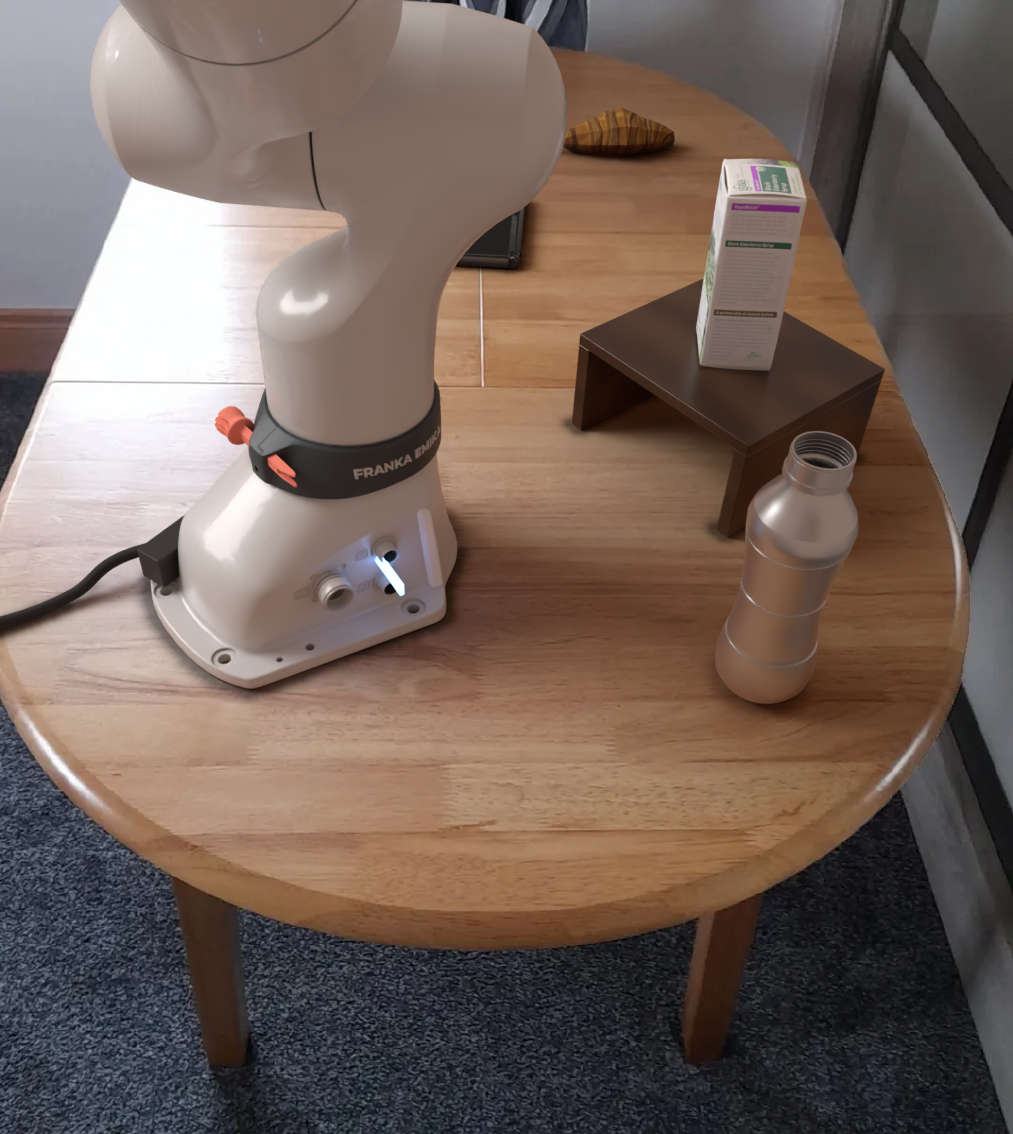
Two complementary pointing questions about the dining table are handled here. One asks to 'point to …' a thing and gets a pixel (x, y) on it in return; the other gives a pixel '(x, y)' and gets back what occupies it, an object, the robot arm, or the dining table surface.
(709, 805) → the dining table surface
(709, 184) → the dining table surface
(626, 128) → the croissant
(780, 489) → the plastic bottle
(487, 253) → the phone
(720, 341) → the syrup box
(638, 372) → the shelf
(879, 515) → the dining table surface
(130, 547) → the robot arm
